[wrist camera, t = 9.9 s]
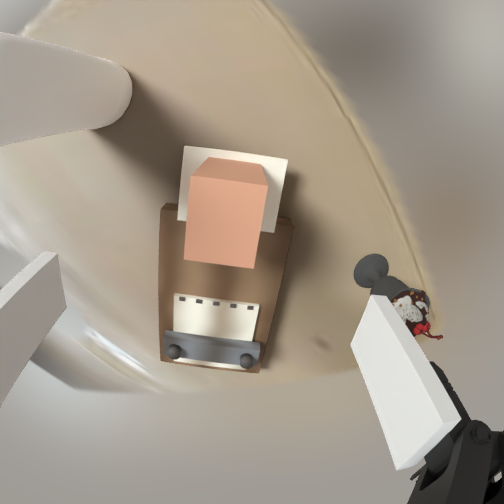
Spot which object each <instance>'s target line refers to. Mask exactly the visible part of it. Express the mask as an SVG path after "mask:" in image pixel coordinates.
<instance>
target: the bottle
mask: <svg viewBox="0 0 504 504" xmlns="http://www.w3.org/2000/svg"><path fill="white" fill-rule="evenodd" d="M131 97H132V81H131V79H130V76H129V74H128V72H127V71H126V70H125V69H124V68H123V67H122V66H121V65H119V64H117V63H115V62H113V61H110V60H107V59H104V58H98V57H95V56H92V55H89V54H86V53H83V52H80V51H76V50H73V49H70V48H66V47H63V46H59V45H55V44H52V43H48V42H44V41H40V40H36V39H31V38H27V37H22V36H18V35H13V34H8V33H2V32H0V146H4V145H8V144H12V143H16V142H21V141H25V140H30V139H34V138H39V137H44V136H49V135H55V134H60V133H66V132H72V131H78V130H85V129H98V128H100V127H105V126H107V125H110V124H112V123H114V122H115V121H116V120H118V119H119V118H120V117H121V116H122V115H123V114H124V112H125V111H126V109H127V108H128V106H129V103H130V100H131Z"/></svg>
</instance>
